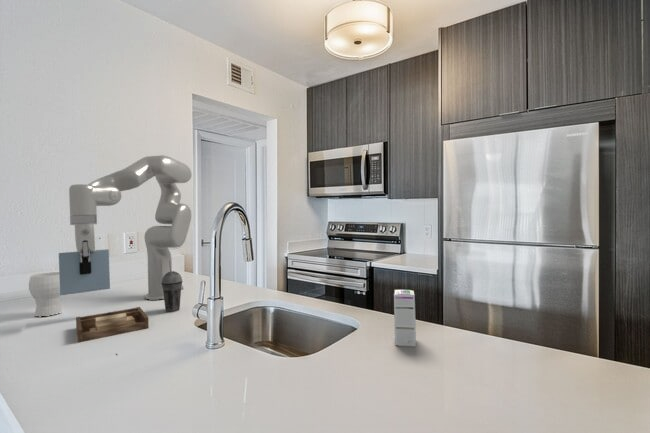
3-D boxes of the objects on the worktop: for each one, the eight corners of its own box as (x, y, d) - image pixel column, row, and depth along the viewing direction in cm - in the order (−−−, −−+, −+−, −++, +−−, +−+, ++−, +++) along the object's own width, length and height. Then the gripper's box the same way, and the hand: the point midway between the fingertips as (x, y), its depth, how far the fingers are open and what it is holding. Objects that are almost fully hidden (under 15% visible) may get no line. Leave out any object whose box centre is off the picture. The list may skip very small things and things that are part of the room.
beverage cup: (186, 310, 129) (185, 258, 128) (176, 316, 122) (175, 261, 121) (168, 309, 130) (167, 258, 129) (157, 315, 122) (156, 261, 122)
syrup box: (416, 347, 92) (416, 294, 92) (394, 345, 93) (393, 293, 93) (415, 339, 98) (414, 289, 97) (394, 337, 99) (393, 288, 99)
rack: (139, 319, 118) (139, 306, 118) (148, 331, 107) (148, 317, 107) (76, 331, 107) (76, 317, 107) (78, 346, 95) (77, 330, 95)
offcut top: (125, 317, 108) (125, 312, 108) (126, 320, 105) (126, 316, 105) (95, 322, 104) (95, 317, 104) (95, 326, 100) (95, 321, 100)
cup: (50, 318, 120) (49, 277, 120) (21, 318, 121) (20, 277, 120) (73, 309, 131) (72, 271, 131) (46, 310, 131) (45, 271, 131)
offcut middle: (131, 320, 110) (131, 315, 110) (134, 323, 106) (134, 319, 106) (94, 327, 103) (94, 322, 103) (97, 331, 100) (97, 326, 100)
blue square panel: (109, 287, 122) (108, 249, 121) (110, 288, 120) (108, 249, 120) (60, 294, 113) (58, 252, 113) (60, 295, 111) (58, 253, 111)
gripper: (98, 220, 112) (100, 275, 112) (95, 219, 125) (96, 269, 125) (70, 221, 107) (72, 278, 108) (69, 220, 120) (71, 271, 120)
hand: (85, 273), depth 116 cm, fingers closed on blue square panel, 2 cm apart
